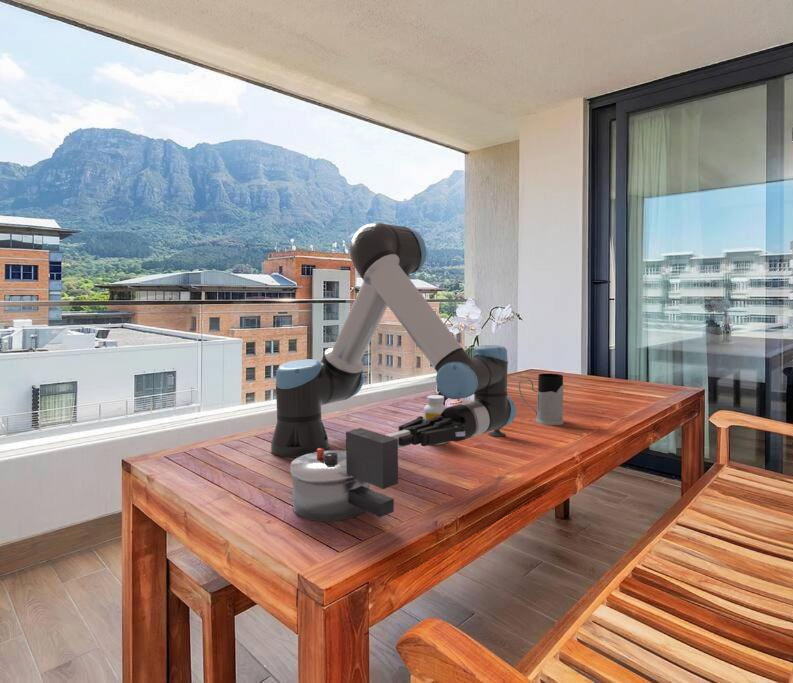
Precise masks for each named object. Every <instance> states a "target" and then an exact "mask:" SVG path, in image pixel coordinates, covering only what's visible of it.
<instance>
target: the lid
mask: <svg viewBox="0 0 793 683" xmlns="http://www.w3.org/2000/svg"><path fill="white" fill-rule="evenodd" d="M386 435H387V434H382V433H379V432H375V431H372V430H369V429H365V428H362V427H359V428H356V429H355V428H354V429H352V430H346V431H345V450H342V449H341V450H340V449H339V450H338V449H337V450H335V449H334V450H326V451H324V448H317V452H314V453H310V454H306V455H303V456H300V457H295V458H294V460H292V461H291V463H290V468H289V470H290V475H291V477H292V476H293V477H294V478H296V479H298V480H301V481H305V482H310V483H322V484H327V483H340V482H346V481H351V480H354V479H359V480H362V481H364V482H367V483H369V485H372V486H374V487H377V488H379V489H381V490H384V489H387V488H390V487H394V486H395V485H399V448H398V439H397V438H393V437H390V436H386Z"/></svg>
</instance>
